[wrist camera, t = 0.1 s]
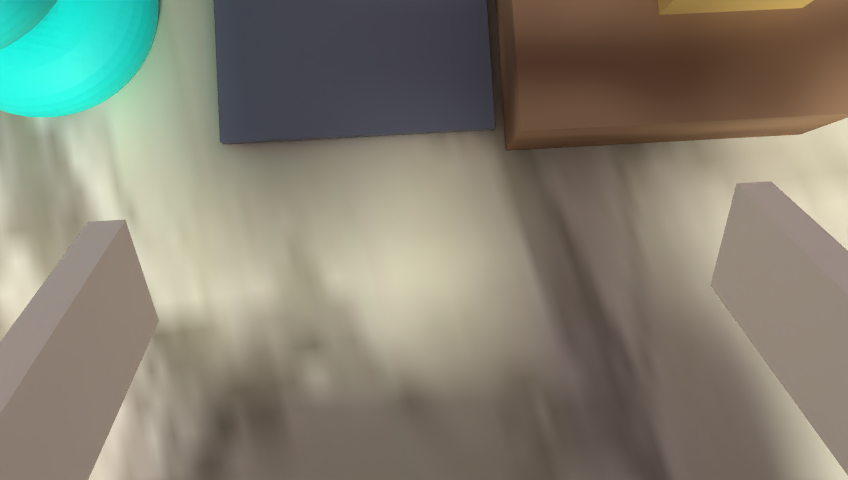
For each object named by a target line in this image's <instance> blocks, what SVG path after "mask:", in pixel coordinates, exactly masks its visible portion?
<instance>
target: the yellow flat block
mask: <svg viewBox="0 0 848 480" xmlns="http://www.w3.org/2000/svg"><path fill="white" fill-rule="evenodd" d="M812 1H813V0H658V8H659V15H669V14H690V13H710V12H731V11H752V10H772V9H793V8H803V7H805V6H806V5H807V4H809V3H810V2H812Z"/></svg>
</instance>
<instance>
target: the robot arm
mask: <svg viewBox="0 0 848 480" xmlns="http://www.w3.org/2000/svg"><path fill="white" fill-rule="evenodd" d="M711 287H712V288H713V290H714V291H715V292H716V294H717V295H718V296H719V298H720V299H721V301H722V302H723V303H724V305H725V306H726V308H727V309H728V310H729V312H730V313H731V314H732V316H733V317H734V319H735V320H736V321H737V323H738V324H739V326H740V327H741V328H742V330H743V331H744V332H745V334H746V335H747V337H748V338H749V339H750V341H751V342H752V344H753V345H754V346H755V348H756V349H757V350H758V352H759V353H760V355H761V356H762V357H763V359H764V360H765V362H766V363H767V364H768V366H769V367H770V368H771V370H772V371H773V373H774V374H775V375H776V377H777V378H778V379H779V381H780V382H781V384H782V385H783V386H784V388H785V389H786V391H787V392H788V393H789V395H790V396H791V397H792V399H793V400H794V402H795V403H796V404H797V406H798V407H799V409H800V410H801V411H802V413H803V414H804V415H805V417H806V418H807V420H808V421H809V422H810V424H811V425H812V427H813V428H814V429H815V431H816V432H817V433H818V435H819V436H820V438H821V439H822V440H823V442H824V443H825V445H826V446H827V447H828V449H829V450H830V451H831V453H832V454H833V456H834V457H835V458H836V460H837V461H838V462H839V464H840V465H841V467H842V468H843V469H844V471H845V472H846V474H847V475H848V251H847V250H846V249H845V248H844V247H843V246H842V245H841V244H840V243H839V242H837V241H836V240H835V239H834V238H833V237H832V236H831V235H830V234H829V233H827V232H826V231H825V230H824V229H823V228H822V227H821V226H820V225H819V224H818V223H816V222H815V221H814V220H813V219H812V218H811V217H810V216H809V215H808V214H806V213H805V212H804V211H803V210H802V209H801V208H800V207H799V206H798V205H797V204H795V203H794V202H793V201H792V200H791V199H790V198H789V197H788V196H787V195H785V194H784V193H783V192H782V191H781V190H780V189H779V188H778V187H777V186H776V185H774V184H773V183H772V182H756V183H739V184H736V188H735V192H734V196H733V200H732V204H731V208H730V211H729V215H728V219H727V223H726V227H725V231H724V235H723V239H722V243H721V247H720V250H719V254H718V258H717V262H716V266H715V270H714V274H713V278H712V282H711ZM158 321H159V320H158V317H157V314H156V311H155V308H154V305H153V302H152V299H151V296H150V293H149V290H148V287H147V284H146V281H145V278H144V275H143V272H142V269H141V266H140V263H139V260H138V257H137V254H136V251H135V248H134V245H133V242H132V239H131V236H130V233H129V230H128V227H127V223H126V220H113V221H96V222H88V223H87V225H86V226H85V227H84V229H83V230H82V231H81V233H80V234H79V236H78V237H77V238H76V240H75V241H74V242H73V244H72V245H71V246H70V248H69V249H68V251H67V252H66V253H65V255H64V256H63V257H62V259H61V260H60V261H59V263H58V264H57V266H56V267H55V268H54V270H53V271H52V272H51V274H50V275H49V276H48V278H47V279H46V281H45V282H44V283H43V285H42V286H41V287H40V289H39V290H38V291H37V293H36V294H35V296H34V297H33V298H32V300H31V301H30V302H29V304H28V305H27V306H26V308H25V309H24V310H23V312H22V313H21V315H20V316H19V317H18V319H17V320H16V321H15V323H14V324H13V325H12V327H11V328H10V330H9V331H8V332H7V334H6V335H5V336H4V338H3V339H2V340H1V342H0V480H88V479H89V477H90V474H91V472H92V470H93V468H94V465H95V463H96V461H97V459H98V456H99V454H100V452H101V450H102V447H103V445H104V443H105V441H106V438H107V436H108V434H109V432H110V429H111V427H112V425H113V423H114V420H115V418H116V416H117V414H118V411H119V409H120V407H121V405H122V402H123V400H124V398H125V396H126V393H127V391H128V389H129V387H130V384H131V382H132V380H133V378H134V375H135V373H136V371H137V369H138V366H139V364H140V362H141V360H142V357H143V355H144V353H145V351H146V348H147V346H148V344H149V342H150V339H151V337H152V335H153V333H154V330H155V328H156V326H157V324H158Z"/></svg>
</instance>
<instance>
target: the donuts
mask: <svg viewBox="0 0 848 480" xmlns="http://www.w3.org/2000/svg"><path fill="white" fill-rule="evenodd" d="M158 14H159V2H158V0H0V110H2V111H4V112H8V113H11V114H15V115H21V116H28V117H58V116H65V115H70V114H74V113H78V112H81V111H84V110H86V109H89V108H92V107H94V106H96V105H98V104H100V103H102V102H103V101H105V100H107V99H108V98H110V97H111V96H113V95H114V94H115V93H117V92H118V91H119V90H120V89H122V88H123V87H124V86H125V85H126V84H127V83H128V82H129V81H130V80H131V78H132V77H133V76H134V75H135V74H136V72H137V71H138V70H139V69H140V67H141V65H142V64H143V62H144V60H145V59H146V57H147V55H148V53H149V51H150V49H151V46H152V43H153V40H154V37H155V34H156V29H157V23H158Z"/></svg>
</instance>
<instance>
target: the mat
mask: <svg viewBox="0 0 848 480" xmlns="http://www.w3.org/2000/svg"><path fill="white" fill-rule="evenodd" d="M214 14H215V37H216V59H217V82H218V104H219V127H220V142H221V143H222V144H238V143H257V142H275V141H294V140H313V139H331V138H350V137H368V136H387V135H405V134H424V133H443V132H461V131H480V130H494V129H495V116H494V101H493V86H492V71H491V57H490V42H489V27H488V12H487V0H214Z"/></svg>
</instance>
